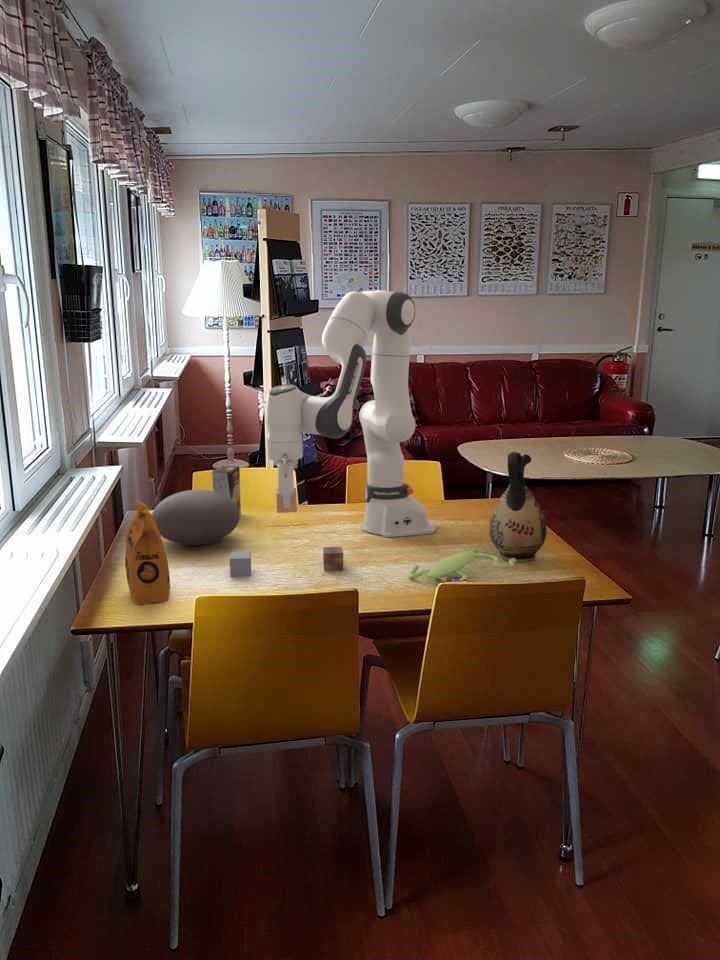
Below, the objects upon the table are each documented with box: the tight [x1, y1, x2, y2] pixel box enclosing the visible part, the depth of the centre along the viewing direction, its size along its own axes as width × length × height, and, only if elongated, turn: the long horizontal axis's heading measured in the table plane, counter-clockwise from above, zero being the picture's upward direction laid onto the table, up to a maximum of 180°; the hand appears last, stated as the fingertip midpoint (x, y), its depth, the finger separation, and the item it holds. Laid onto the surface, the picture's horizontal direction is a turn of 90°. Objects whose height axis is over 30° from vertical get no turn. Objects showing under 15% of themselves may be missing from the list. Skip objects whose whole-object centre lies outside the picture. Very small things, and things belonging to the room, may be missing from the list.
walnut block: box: [322, 546, 344, 572], centre depth 200 cm, size 5×5×5 cm
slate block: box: [229, 551, 252, 578], centre depth 196 cm, size 5×5×5 cm
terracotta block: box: [275, 487, 298, 514], centre depth 194 cm, size 5×5×5 cm
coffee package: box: [124, 501, 171, 605], centre depth 179 cm, size 10×12×22 cm
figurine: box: [408, 547, 517, 583], centre depth 194 cm, size 18×26×6 cm
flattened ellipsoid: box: [151, 489, 241, 546], centre depth 219 cm, size 25×25×15 cm
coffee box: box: [211, 465, 242, 515], centre depth 243 cm, size 9×6×16 cm
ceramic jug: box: [488, 451, 548, 563], centre depth 204 cm, size 17×15×30 cm
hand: (286, 503), depth 194 cm, fingers closed on terracotta block, 5 cm apart
